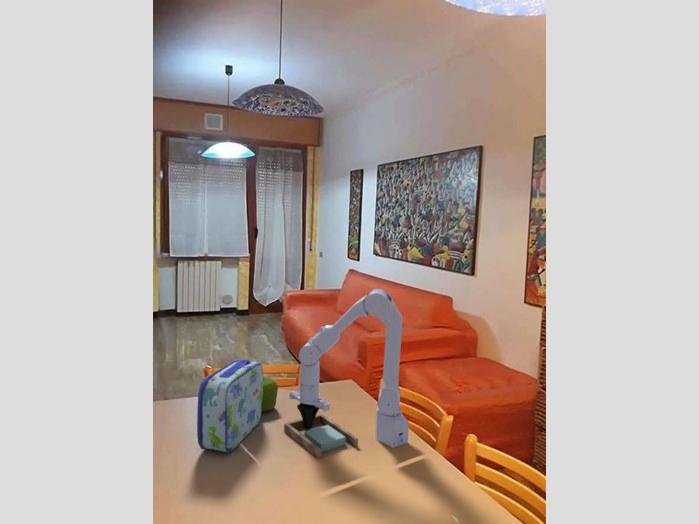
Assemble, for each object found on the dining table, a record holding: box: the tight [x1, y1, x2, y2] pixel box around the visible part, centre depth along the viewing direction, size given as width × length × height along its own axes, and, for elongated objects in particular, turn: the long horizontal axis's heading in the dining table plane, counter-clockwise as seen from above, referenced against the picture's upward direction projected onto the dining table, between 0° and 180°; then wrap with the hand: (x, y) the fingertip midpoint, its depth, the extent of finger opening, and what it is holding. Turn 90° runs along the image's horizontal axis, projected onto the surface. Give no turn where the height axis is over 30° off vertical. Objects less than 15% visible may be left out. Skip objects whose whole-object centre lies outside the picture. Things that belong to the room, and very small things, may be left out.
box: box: [283, 413, 359, 460], centre depth 135 cm, size 19×13×3 cm
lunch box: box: [196, 359, 264, 453], centre depth 135 cm, size 26×11×21 cm, turn 168°
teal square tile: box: [304, 425, 346, 452], centre depth 133 cm, size 9×8×2 cm
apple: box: [261, 376, 279, 413], centre depth 155 cm, size 11×11×11 cm
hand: (308, 427), depth 140 cm, fingers closed
